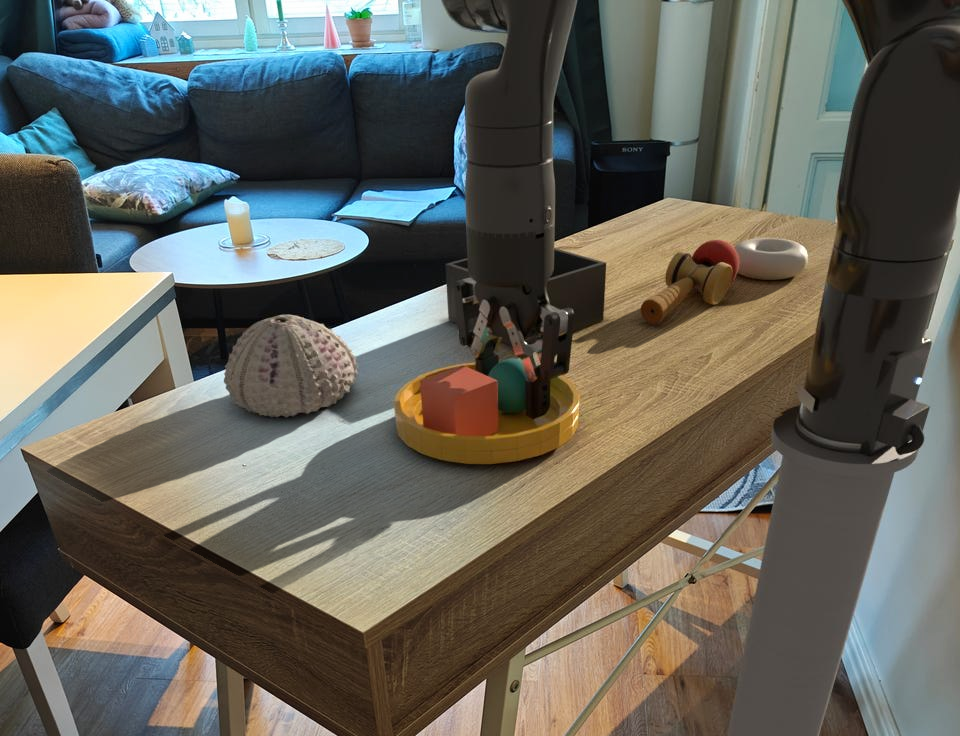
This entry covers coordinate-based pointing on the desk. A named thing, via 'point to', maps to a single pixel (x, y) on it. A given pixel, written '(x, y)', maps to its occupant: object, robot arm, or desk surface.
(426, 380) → the toy block
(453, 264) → the bin
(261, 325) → the sea urchin shell
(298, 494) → the desk surface
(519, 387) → the toy ball
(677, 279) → the kendama
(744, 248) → the donut
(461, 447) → the bowl
